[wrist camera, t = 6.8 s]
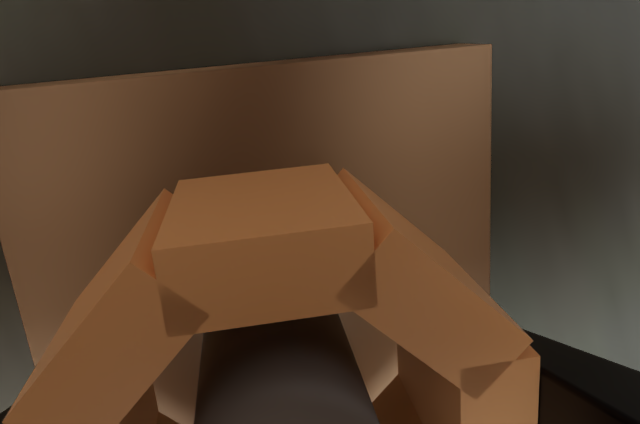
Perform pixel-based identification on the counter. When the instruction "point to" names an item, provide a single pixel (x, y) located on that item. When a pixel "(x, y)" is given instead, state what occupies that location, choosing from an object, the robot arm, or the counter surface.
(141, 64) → the counter surface
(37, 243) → the shaft post
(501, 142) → the counter surface
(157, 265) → the ring
